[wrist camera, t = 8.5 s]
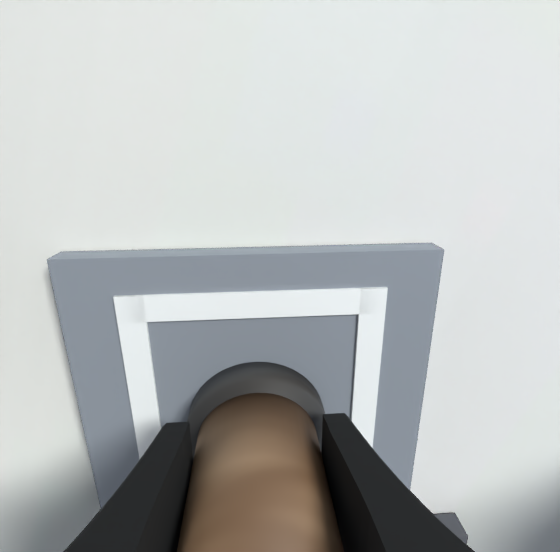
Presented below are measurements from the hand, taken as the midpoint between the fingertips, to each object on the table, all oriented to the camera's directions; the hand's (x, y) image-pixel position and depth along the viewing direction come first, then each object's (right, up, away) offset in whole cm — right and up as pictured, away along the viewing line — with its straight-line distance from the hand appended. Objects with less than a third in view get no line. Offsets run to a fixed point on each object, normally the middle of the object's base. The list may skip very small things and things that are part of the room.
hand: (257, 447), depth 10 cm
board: (0, +1, +2) cm, 3 cm away
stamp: (0, 0, +2) cm, 2 cm away
